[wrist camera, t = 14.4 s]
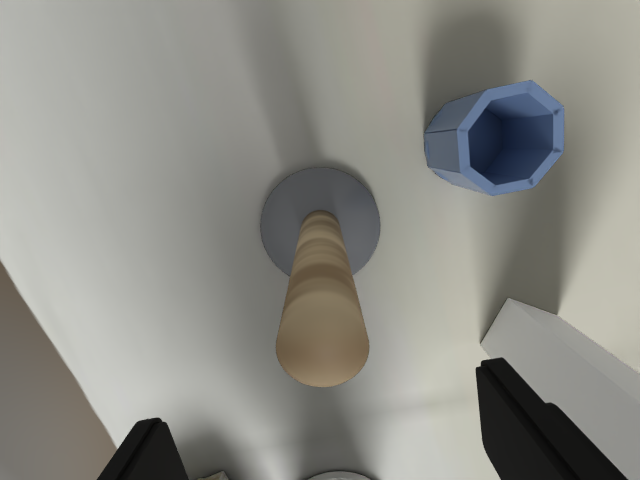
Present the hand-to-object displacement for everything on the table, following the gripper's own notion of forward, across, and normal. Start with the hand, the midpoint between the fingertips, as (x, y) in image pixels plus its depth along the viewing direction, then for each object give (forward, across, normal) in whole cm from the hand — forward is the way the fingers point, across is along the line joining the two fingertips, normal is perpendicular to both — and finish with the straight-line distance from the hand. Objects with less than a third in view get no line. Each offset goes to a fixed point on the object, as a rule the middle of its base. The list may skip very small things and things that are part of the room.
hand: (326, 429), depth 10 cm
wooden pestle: (+21, 0, -1) cm, 21 cm away
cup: (+22, -14, -6) cm, 27 cm away
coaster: (+22, 0, -1) cm, 22 cm away
